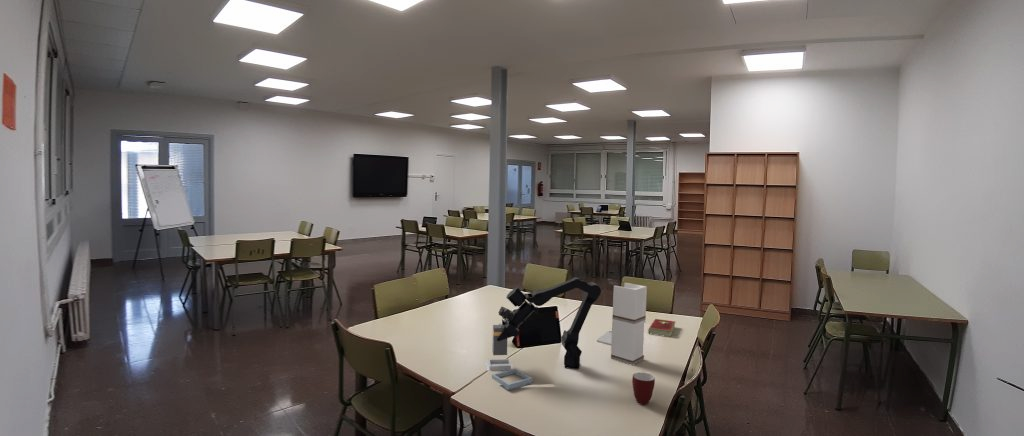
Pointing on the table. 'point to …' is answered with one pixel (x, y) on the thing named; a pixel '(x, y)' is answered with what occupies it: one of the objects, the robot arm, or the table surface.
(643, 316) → the banded white pillar
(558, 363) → the table surface
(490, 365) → the dock
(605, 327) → the table surface
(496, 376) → the light blue square frame
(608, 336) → the gadget
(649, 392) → the mug
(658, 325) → the hardcover book
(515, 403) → the table surface
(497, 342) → the block
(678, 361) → the table surface
